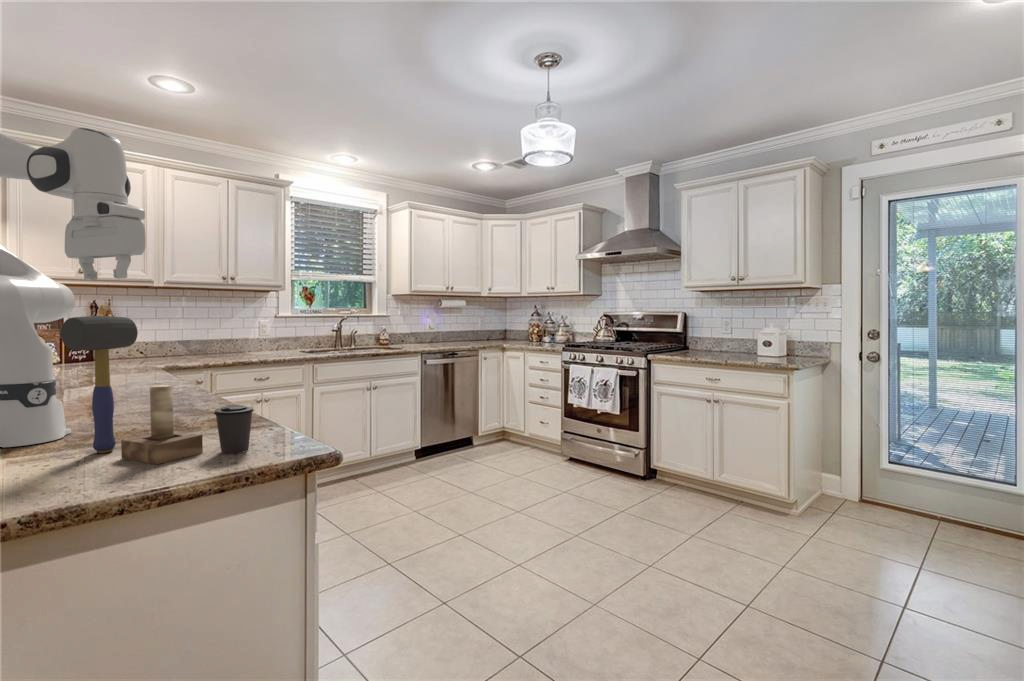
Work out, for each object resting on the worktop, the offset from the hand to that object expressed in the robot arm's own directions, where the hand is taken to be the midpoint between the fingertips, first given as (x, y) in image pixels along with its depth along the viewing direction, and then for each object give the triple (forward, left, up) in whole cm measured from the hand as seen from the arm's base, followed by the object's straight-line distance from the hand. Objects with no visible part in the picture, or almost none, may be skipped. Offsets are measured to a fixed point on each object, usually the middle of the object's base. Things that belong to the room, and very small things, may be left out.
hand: (105, 279), depth 107 cm
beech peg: (+8, +6, -38) cm, 39 cm away
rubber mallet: (-7, +3, -38) cm, 38 cm away
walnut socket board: (+8, +6, -38) cm, 39 cm away
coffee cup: (+18, +15, -38) cm, 44 cm away
